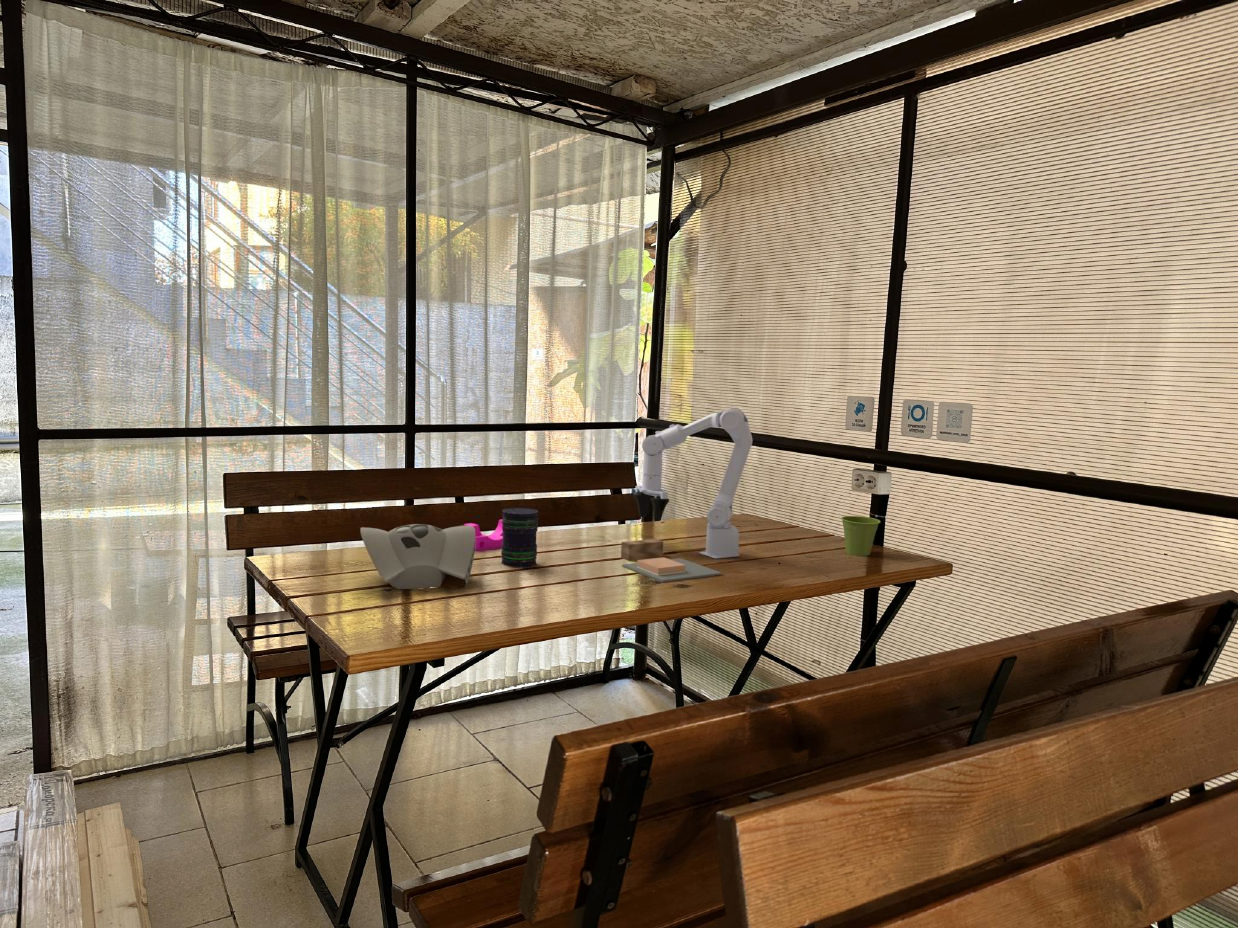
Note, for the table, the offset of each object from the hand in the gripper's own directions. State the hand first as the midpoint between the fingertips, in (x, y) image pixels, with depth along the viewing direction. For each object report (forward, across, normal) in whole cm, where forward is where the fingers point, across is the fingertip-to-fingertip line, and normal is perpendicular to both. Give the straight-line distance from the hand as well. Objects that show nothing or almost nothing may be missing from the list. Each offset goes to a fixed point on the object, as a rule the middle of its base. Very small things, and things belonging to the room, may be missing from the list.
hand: (650, 518), depth 262 cm
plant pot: (+10, +32, +57) cm, 66 cm away
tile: (+8, +26, -9) cm, 28 cm away
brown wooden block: (+10, +9, -9) cm, 16 cm away
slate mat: (+9, +26, -10) cm, 29 cm away
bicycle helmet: (+11, +8, -76) cm, 77 cm away
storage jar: (+10, +2, -45) cm, 46 cm away
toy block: (+10, -21, -43) cm, 49 cm away
